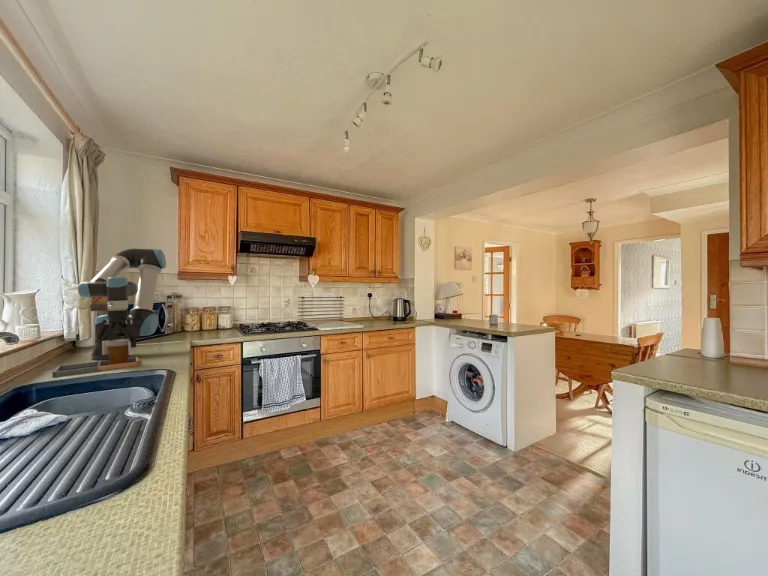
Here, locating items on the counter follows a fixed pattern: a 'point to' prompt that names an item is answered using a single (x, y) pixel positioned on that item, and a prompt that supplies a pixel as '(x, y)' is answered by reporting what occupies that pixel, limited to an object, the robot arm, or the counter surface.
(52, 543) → the counter surface
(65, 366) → the cup carrier
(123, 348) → the disposable coffee cup
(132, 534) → the counter surface
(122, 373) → the counter surface
